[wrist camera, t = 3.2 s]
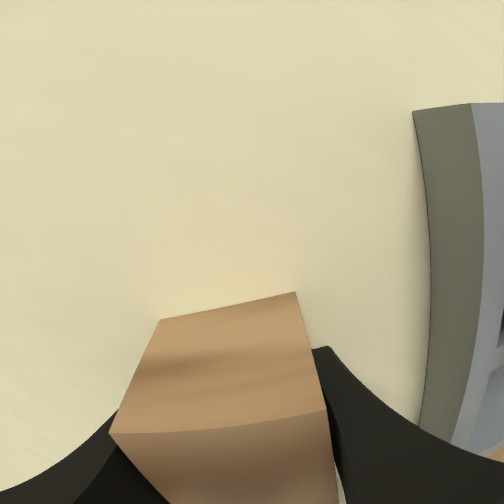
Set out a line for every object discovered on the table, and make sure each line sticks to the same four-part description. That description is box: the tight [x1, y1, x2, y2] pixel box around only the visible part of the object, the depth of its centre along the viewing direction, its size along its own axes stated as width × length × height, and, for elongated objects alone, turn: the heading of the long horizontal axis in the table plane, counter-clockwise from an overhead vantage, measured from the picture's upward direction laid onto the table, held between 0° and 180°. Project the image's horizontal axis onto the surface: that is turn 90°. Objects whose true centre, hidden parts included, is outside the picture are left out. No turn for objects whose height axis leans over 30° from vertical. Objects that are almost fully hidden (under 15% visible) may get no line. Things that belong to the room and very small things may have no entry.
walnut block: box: [108, 292, 339, 504], centre depth 8 cm, size 4×4×5 cm
